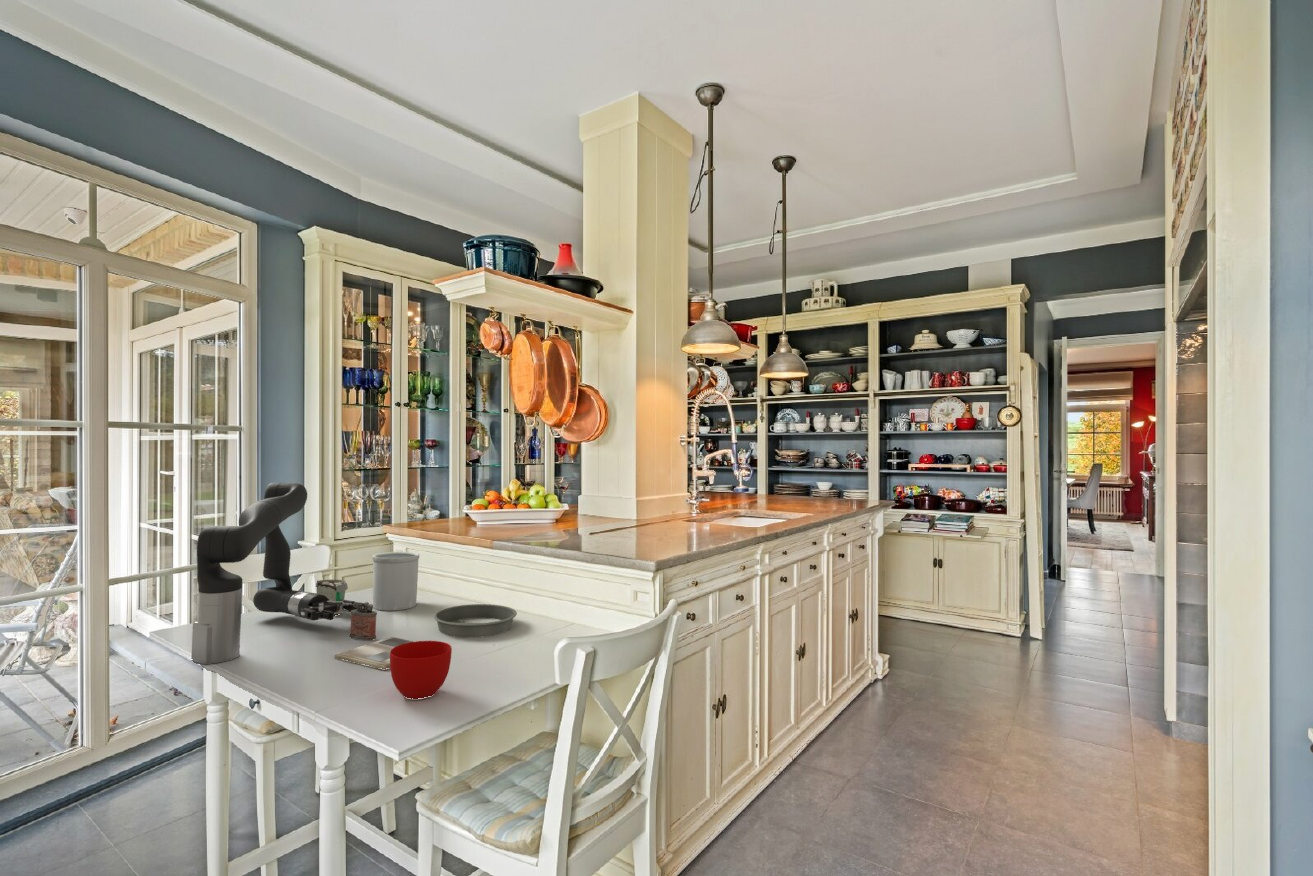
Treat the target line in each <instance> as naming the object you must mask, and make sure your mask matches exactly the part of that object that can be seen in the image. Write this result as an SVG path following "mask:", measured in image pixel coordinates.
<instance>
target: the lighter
mask: <svg viewBox="0 0 1313 876" xmlns="http://www.w3.org/2000/svg"><path fill="white" fill-rule="evenodd" d="M353 607H358V608H357V609H356V610H351V612H349V613H350V633H349V638H350V637H351V638H350V639H353V638H355V639H354V640H358V639H362V640H361V641H374V640H373V639H375V640H376V639H377V635H376V631H377V630H376V627H377V615H378V611H376V610H373V609H374V608H373V603H369V602H367V601H365V602H360V601H359V602H358V601H355V602H354V603H353Z"/></svg>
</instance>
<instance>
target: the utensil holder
mask: <svg viewBox="0 0 1313 876" xmlns="http://www.w3.org/2000/svg"><path fill="white" fill-rule="evenodd" d="M419 559H420V553H419V552H416V551H390V552H379V553H374V554H373V555H372V562H373V564H372V566H373V567H372V604H373V609H375V610H377V611H387V612H388V611H389V612H390V611H391V612H392V611H403V610H407V609H412V608H413V607H416V605H417V596H418V595H417V594H418V579H419V578H418V577H419Z"/></svg>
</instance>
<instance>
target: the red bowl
mask: <svg viewBox="0 0 1313 876" xmlns="http://www.w3.org/2000/svg"><path fill="white" fill-rule="evenodd" d="M452 652H453V649H452V646H451V645H450V643H447V642H444V641H438V640H418V641H417V640H416V641H413V642H410V643H405V644H401V645H398V646H396V647H394V648H393V649H392V650H391V651H390V669H389V670H390V676H391V679H392V682H393V684H394V687H395V688H396V690H397V691H398V692H399V693H400V694H401V695H402V696H403V697H404V696H405V697H407V698H411V699H412V698H413V699H418V698H424V697H428V696H432V695H433V694H435V695H436V693H437V692H438V691H439V690H440V688H441V687H442V686H443V685H444V683H445V681H446V679H447V677H448V675H449V672H450V666H451V663H452V654H453V653H452ZM405 697H404V698H405ZM432 697H433V696H432Z"/></svg>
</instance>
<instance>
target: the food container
mask: <svg viewBox="0 0 1313 876" xmlns="http://www.w3.org/2000/svg"><path fill="white" fill-rule="evenodd" d="M315 587H316V594H322V595H325V596H326V597H327V598H328V599H329V601H339V600H341V599H343V600H345V595H346V591H347V590H348V589H349V587H348V584H347V581H346V580H343V579H319V580H317V581H316V584H315ZM337 611H340V608H339V607H337ZM342 614H343V613H341V615H342ZM335 615H338V614H334V616H335Z"/></svg>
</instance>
